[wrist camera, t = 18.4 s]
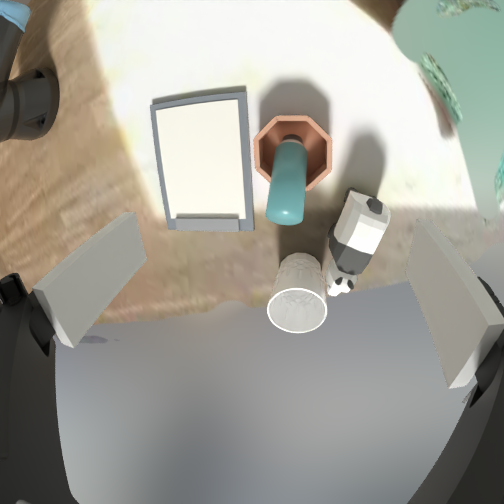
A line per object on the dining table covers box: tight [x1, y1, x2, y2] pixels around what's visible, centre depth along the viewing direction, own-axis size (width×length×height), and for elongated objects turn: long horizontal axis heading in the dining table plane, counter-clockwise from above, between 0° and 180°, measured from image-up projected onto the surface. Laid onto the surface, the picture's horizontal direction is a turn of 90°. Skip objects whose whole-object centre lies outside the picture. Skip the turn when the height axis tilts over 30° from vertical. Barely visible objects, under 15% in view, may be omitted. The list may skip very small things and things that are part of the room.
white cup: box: [267, 253, 327, 333], centre depth 40 cm, size 8×8×10 cm
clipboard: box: [150, 92, 255, 232], centre depth 38 cm, size 20×14×2 cm
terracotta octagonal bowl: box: [253, 115, 332, 191], centre depth 33 cm, size 9×9×4 cm
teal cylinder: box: [266, 134, 308, 225], centre depth 31 cm, size 4×4×11 cm
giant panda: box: [325, 188, 391, 297], centre depth 35 cm, size 15×6×10 cm, turn 166°
